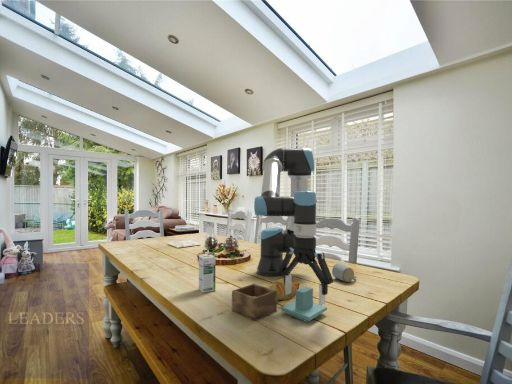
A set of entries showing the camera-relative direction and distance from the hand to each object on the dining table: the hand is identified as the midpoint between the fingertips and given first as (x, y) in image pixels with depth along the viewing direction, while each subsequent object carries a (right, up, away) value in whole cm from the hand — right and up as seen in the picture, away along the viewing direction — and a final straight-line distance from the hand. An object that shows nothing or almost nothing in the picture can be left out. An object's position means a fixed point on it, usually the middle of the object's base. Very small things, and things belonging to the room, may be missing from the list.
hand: (304, 298), depth 94 cm
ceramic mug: (+27, -6, +39) cm, 48 cm away
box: (-17, -5, +2) cm, 18 cm away
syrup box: (-37, -6, +23) cm, 44 cm away
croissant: (-6, -6, +18) cm, 20 cm away
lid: (0, -6, 0) cm, 6 cm away
